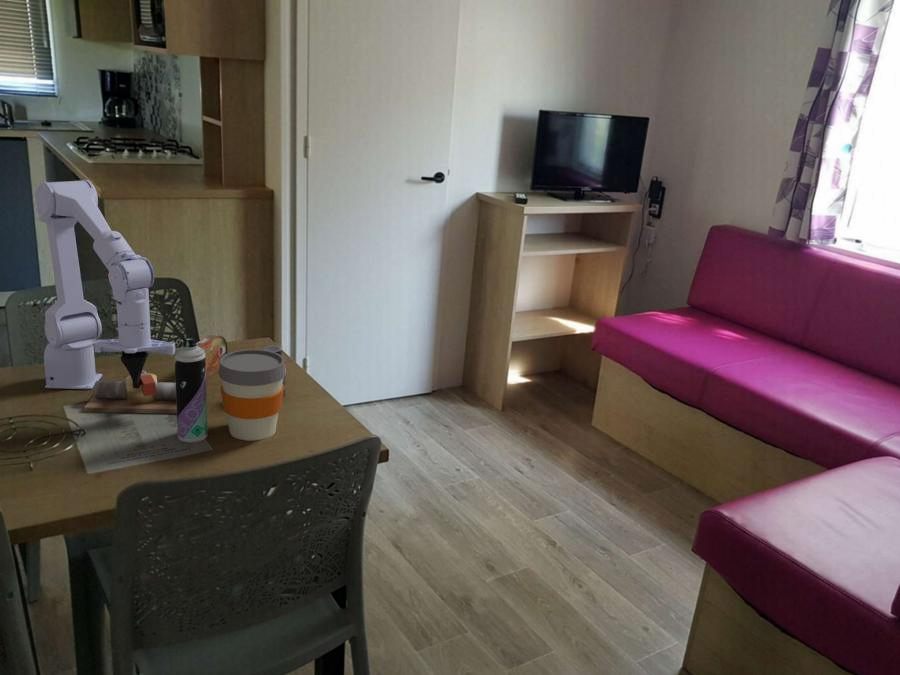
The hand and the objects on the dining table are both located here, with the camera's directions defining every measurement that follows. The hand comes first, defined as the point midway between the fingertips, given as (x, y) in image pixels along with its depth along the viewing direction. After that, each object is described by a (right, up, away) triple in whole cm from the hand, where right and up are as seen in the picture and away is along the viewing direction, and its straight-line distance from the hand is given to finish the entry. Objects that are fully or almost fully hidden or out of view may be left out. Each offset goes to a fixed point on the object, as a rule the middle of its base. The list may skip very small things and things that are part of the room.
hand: (137, 386), depth 151 cm
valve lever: (0, 0, +4) cm, 4 cm away
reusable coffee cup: (+23, -9, +1) cm, 24 cm away
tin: (+5, +1, +26) cm, 27 cm away
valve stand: (-3, -4, +9) cm, 10 cm away
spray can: (+12, -10, -3) cm, 16 cm away
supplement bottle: (+23, -3, +17) cm, 29 cm away
